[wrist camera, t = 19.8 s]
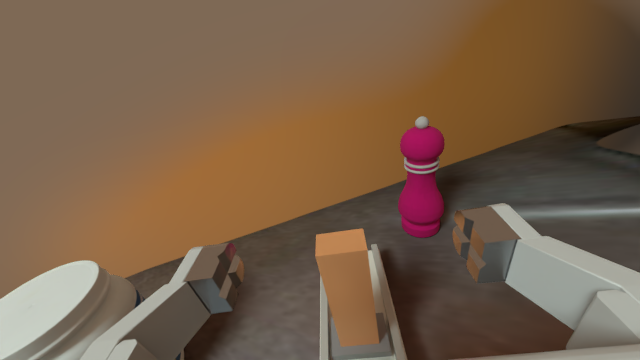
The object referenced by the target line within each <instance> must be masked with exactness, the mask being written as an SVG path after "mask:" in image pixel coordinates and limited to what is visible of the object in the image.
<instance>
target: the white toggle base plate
mask: <svg viewBox="0 0 640 360" xmlns="http://www.w3.org/2000/svg"><path fill="white" fill-rule="evenodd" d="M371 248H372V250H370V251H368V259H369V266H370V274H371V282H372V290H373V297H374V305H375V313H383V315H384V320H385V325H386V329H387V334H388V339H389V343H390V348H391V355H392V356H387V357H375V358H363V359H351V360H407V356H406V352H405V348H404V344H403V340H402V337H401V333H400V329H399V325H398V321H397V317H396V313H395V309H394V306H393V302H392V298H391V294H390V290H389V286H388V282H387V278H386V275H385V271H384V267H383V263H382V259H381V255H380V251H379V249H378V248H377V244H372V245H371ZM331 318H333V317H332V313H331V310H330V306H329V302H328V299H327V295H326V292H325V288H324V285H323V281H322V278H321V288H320V360H333V358H332V342H331Z"/></svg>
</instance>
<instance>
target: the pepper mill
mask: <svg viewBox="0 0 640 360" xmlns="http://www.w3.org/2000/svg"><path fill="white" fill-rule="evenodd" d="M415 125H416V127H413V128H411V129H409V130H407V132H406V133H405V134H404V135H403V136H402V139H401V144H400V148H401V152H402V154H403V155H404V156H405V158H404V162H405V164H404V167H405V169H406V170H407V173H408V175H407V182H406V185H405V187H404V189H403V191H402V193H401V195H400V198H399V203H398V209H399V212H400V214H401V215H402V227H403V229H404V231H405V232H407V233H408V234H410V235H412V236H415V237H420V238H426V237H431V236H433V235H435V234H436V233H437V232H438V230H439V227H440V217H441V216H442V215H443V212H444V202H443V198H442V195H441V194H440V192H439V190H438V188H437V185H436V181H435V173H436V170H437V169H438V168H439V161H440V159H439V157H438V156H439V155H440V154H441V153H442V152H443V149H444V137H443V135H442V134H441V132H440V131H439V130H438V129H436V128H434V127H431V126H428V125H429V120H428V119H427V118H426V117H419V118H418V119H417V120H416V122H415Z"/></svg>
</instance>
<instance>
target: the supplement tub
mask: <svg viewBox="0 0 640 360" xmlns="http://www.w3.org/2000/svg"><path fill="white" fill-rule="evenodd" d="M144 301H145V299H144V298H143V297H142V296H141V294H140V293H139V292H138V291H137V290H136V289H135V288H134V286H133V285H132V284H131V283H130V282H129V281H128V280H126V279H124V278H122V277H120V276H116V275H110V274H109V273H108V272H107V271H106V270H105V269H103V268H101V267H100V266H99V265H98V264H97V263H95V262H93V261H76V262H72V263H68V264H65V265H62V266H60V267H57V268H55V269H52V270H50V271H48V272H46V273H43V274H41V275H40V276H38V277H35V278H34V279H32V280H30V281H28V282H27V283H25V284H23V285H21V286H20V287H18V288H17V289H15V290H14V291H12V292H10V293H9V294H7V295H6V296H5V297H3V298H2V299H0V360H80V359H81V357H82V356H83V354H84V353H85V352H86V350H87V349H88V348H89V346H90V345H91V344H92V342H93V341H95V340H96V339H97V338H98V337H100V336H101V335H102V334H103V333H105V332H106V331H107V330H109V329H110V328H111V327H112V326H114V325H115V324H116V323H117V322H119V321H120V320H121V319H122V318H124V317H125V316H126V315H127V314H129V313H130V312H131V311H132V310H134V309H135V308H136V307H137V306H139V305H140V304H141V303H142V302H144ZM174 360H184V349H183V350H182V351H181V352H180V353H179V355H178V356H177V357H176V358H175V359H174Z"/></svg>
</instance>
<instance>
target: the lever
mask: <svg viewBox="0 0 640 360" xmlns="http://www.w3.org/2000/svg"><path fill="white" fill-rule="evenodd" d="M315 257H316V260H317V264H318V267H319V271H320V274H321V278H322V281H323V285H324V288H325V292H326V295H327V299H328V302H329V306H330V310H331V313H332V317H333V318H331V342H332V358H333V360H351V359H363V358H375V357H387V356H392V355H391V348H390V343H389V339H388V334H387V329H386V325H385V320H384V315H383V313H375V305H374V297H373V290H372V282H371V274H370V266H369V259H368V251H367V246H366V241H365V236H364V231H363V228H362V229H355V230H348V231H340V232H333V233H326V234H318V235H316V256H315Z"/></svg>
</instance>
